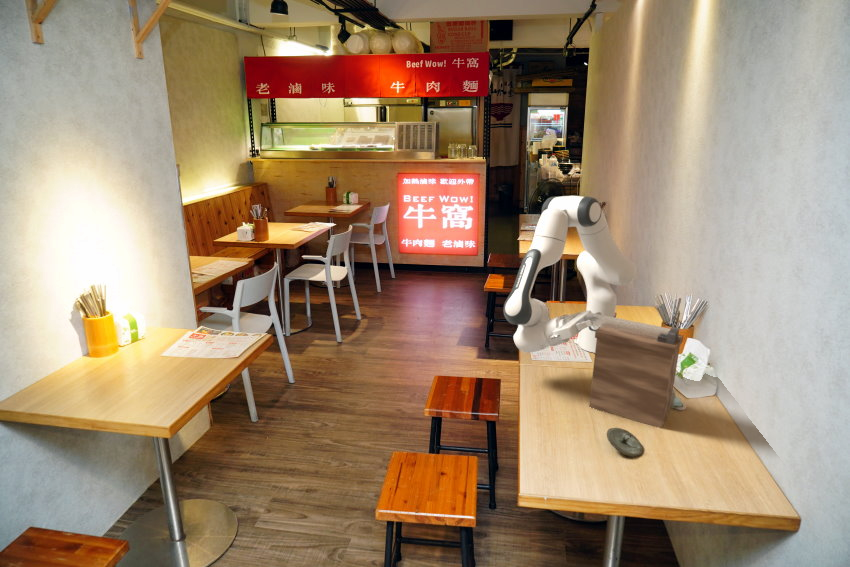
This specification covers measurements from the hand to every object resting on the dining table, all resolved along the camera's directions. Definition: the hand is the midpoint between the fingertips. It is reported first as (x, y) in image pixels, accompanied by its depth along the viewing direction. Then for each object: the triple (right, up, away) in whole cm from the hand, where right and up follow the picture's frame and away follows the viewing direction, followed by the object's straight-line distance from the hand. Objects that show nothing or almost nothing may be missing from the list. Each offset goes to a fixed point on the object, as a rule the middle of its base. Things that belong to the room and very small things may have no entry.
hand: (596, 318), depth 183 cm
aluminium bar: (+8, -4, -4) cm, 10 cm away
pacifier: (+27, -29, +4) cm, 40 cm away
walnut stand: (+11, -29, +1) cm, 31 cm away
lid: (+2, -36, -21) cm, 41 cm away
